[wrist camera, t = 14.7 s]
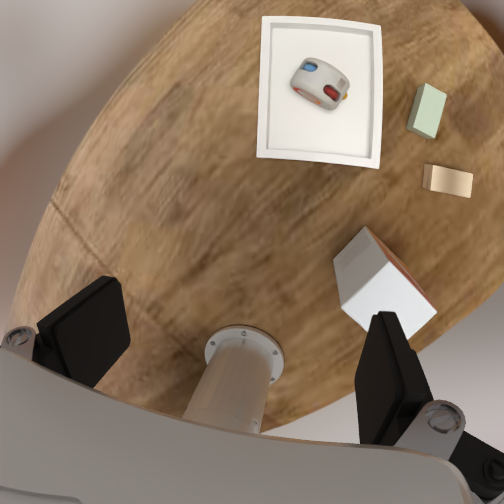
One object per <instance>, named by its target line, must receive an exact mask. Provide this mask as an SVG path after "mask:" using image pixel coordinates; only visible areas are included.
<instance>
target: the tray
mask: <svg viewBox="0 0 504 504" xmlns="http://www.w3.org/2000/svg"><path fill="white" fill-rule="evenodd" d="M306 58H317V59H320V60H322V61H325V62H327V63H329V64H330V65H332V66H334V67H335V68H337V69H338V70H339V71H341V72H342V73H343V74H344V75H345V76H346V77H347V79H348V80H349V83H350V87H349V89H348V90H347V92H346V93H347V98H346V99H344V100H341V102H340V103H339V105H338V106H337V108H336V109H334V110H327V109H324V108H322V107H320V106H318V105H316V104H314V103H312V102H311V101H309V100H307V99H306V98H304V97H303V96H301V95H300V94H298V93H297V92H296V91H294V90H293V89H292V88H291V86H290V80H291V78H292V77H293V75H294V74H295V72H296V71H297V69H298V68H299V66H300V65H301V63H302V62H303V60H304V59H306ZM382 105H383V65H382V39H381V26H379V25H373V24H367V23H361V22H354V21H347V20H338V19H328V18H316V17H297V16H262V33H261V58H260V83H259V107H258V132H257V156H256V157H260V158H278V159H292V160H305V161H316V162H327V163H336V164H345V165H354V166H362V167H369V168H377V169H379V163H380V149H381V132H382Z"/></svg>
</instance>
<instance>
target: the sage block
mask: <svg viewBox="0 0 504 504" xmlns="http://www.w3.org/2000/svg"><path fill="white" fill-rule="evenodd" d="M446 96H447V95H446V94H444V93H443V92H441V91H439V90H437V89H436V88H434V87H432V86H430V85H428V84H426V83H425V84H423V85H421V86H419V87H418V89H417V92H416V96H415V100H414V103H413V107H412V110H411V113H410V117H409V120H408V123H407V126H406V129H408V130H410V131H412V132H414V133H416V134H418V135H420V136H422V137H424V138H426V139H431V138H435V135H436V132H437V129H438V125H439V122H440V118H441V115H442V111H443V107H444V104H445V100H446Z"/></svg>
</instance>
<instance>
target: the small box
mask: <svg viewBox="0 0 504 504" xmlns="http://www.w3.org/2000/svg"><path fill="white" fill-rule="evenodd" d="M333 263H334V268H335V274H336V280H337V286H338V292H339V297H340V304H341V308H342V310H344V311H345V312H346V313H347V314H348V315H349V316H350V317H351V318H353V319H354V320H355V321H356V322H357V323H358V324H359V325H361V326H362V327H363V328H364V329H365V330H366V331H367V332H368V330H369V326H370V322H371V318H372V316H373V314H376V315H377V314H378V312H379V311H392V312H395V313H396V314H397V317H398V319H399V321H400V324H401V326H402V328H403V331H404V333H405V336H406V338H407V340H408V339H409V338H410V337H411V336H412V335H413V334H415V333H416V332H417V331H418V330H419V329H420V328H421V327H422V326H423V325H424V324H425V323H427V322H428V321H429V320H430V319H431V318H432V317H433V316H434V315H435V314H436V313H437V310H436V308H435V307H434V305H433V304H432V302H431V301H430V299H429V298H428V297H427V295H426V294H425V292H424V291H423V289H422V288H421V286H420V285H419V283H418V282H417V281H416V279H415V278H414V277H413V275H412V274H411V272H410V271H409V269H408V268H407V267H406V265H405V264H404V263H403V262H402V261H401V260H400V259H399V258H398V257H397V256H396V255H395V254H394V253H393V252H392V251H391V250H390V249H389V248H388V247H387V246H386V245H385V244H384V243H383V242H382V241H381V240H380V239H379V238H378V237H377V236H376V235H375V234H374V233H373V232H372V231H371V230H370V229H369V228H368V227H367V226H364V227H363V228H362V229H361V231H360V232H359V233H358V234H357V235H356V236H355V237H354V238H353V239H352V240H351V241H350V242H349V243H348V244H347V245H346V247H345V248H344V249H343V250H342V251H341V252H340V253H339V254H338V255H337V256H336V257H335V258H334V259H333Z"/></svg>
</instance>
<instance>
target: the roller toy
mask: <svg viewBox="0 0 504 504" xmlns="http://www.w3.org/2000/svg"><path fill="white" fill-rule="evenodd" d="M290 86H291V88H292V89H293V90H294V91H296V92H297V93H298V94H300V95H301V96H303V97H304V98H306V99H307V100H309V101H311V102H312V103H314V104H316V105H318V106H320V107H322V108H324V109H327V110H334V109H336V108H337V106H338V105H339V103H340V102H341V100H344V99H346V98H347V93H346V92H347V90H348V89H349V87H350V83H349V80H348V79H347V77H346V76H345V75H344V74H343V73H342V72H341V71H339V70H338V69H337V68H335V67H334V66H332V65H330V64H329V63H327V62H325V61H322V60H320V59H317V58H306V59H304V60H303V62H302V63H301V65H300V66H299V68H298V69H297V71H296V72H295V74H294V75H293V77H292V78H291V80H290Z"/></svg>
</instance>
